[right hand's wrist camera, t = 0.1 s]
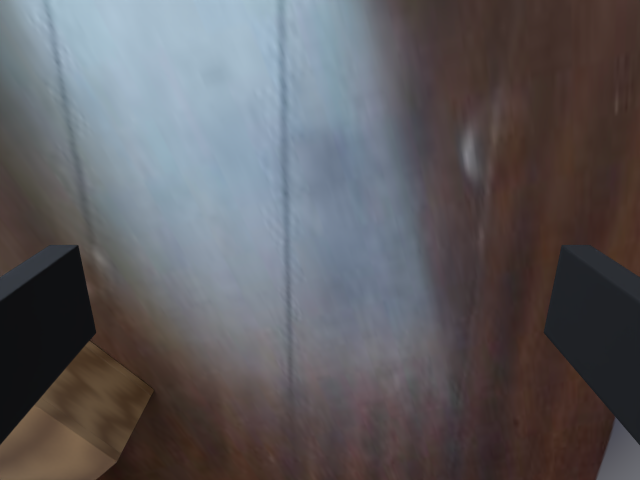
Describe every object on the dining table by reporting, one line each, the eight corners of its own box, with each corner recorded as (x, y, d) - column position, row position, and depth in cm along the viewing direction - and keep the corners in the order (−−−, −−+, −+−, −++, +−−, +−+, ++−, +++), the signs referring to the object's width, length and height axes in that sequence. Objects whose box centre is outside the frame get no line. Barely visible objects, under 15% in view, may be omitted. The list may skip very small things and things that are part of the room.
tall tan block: (-12, 365, 47) (-90, 433, 38) (44, 306, 44) (-25, 364, 35) (97, 440, 50) (49, 519, 41) (154, 389, 48) (117, 462, 39)
